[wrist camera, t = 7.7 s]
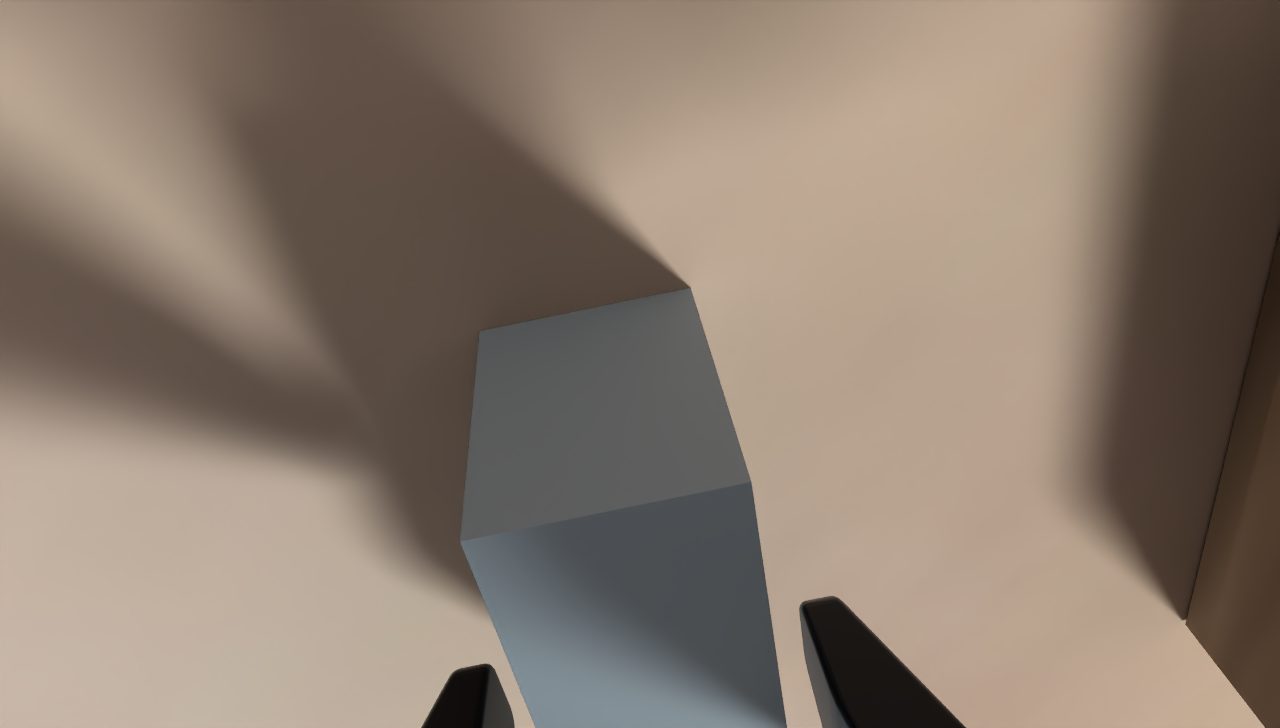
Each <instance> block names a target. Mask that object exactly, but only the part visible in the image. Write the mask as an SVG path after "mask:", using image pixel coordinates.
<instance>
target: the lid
mask: <svg viewBox="0 0 1280 728" xmlns="http://www.w3.org/2000/svg"><path fill="white" fill-rule="evenodd" d="M460 543H461V546H462V548H463V551H464V553H465V556H466V558H467V561H468V563H469V565H470V568H471V570H472V573H473V575H474V578H475V580H476V583H477V585H478V588H479V590H480V592H481V595H482V597H483V600H484V602H485V605H486V607H487V610H488V612H489V615H490V617H491V619H492V622H493V624H494V627H495V629H496V632H497V634H498V637H499V639H500V642H501V644H502V646H503V649H504V651H505V654H506V656H507V659H508V661H509V664H510V666H511V669H512V671H513V674H514V676H515V678H516V681H517V683H518V686H519V688H520V691H521V693H522V696H523V698H524V701H525V703H526V705H527V708H528V710H529V713H530V715H531V718H532V720H533V723H534V725H535V728H787V725H786V718H785V711H784V705H783V698H782V691H781V684H780V677H779V670H778V663H777V656H776V649H775V642H774V635H773V629H772V622H771V615H770V608H769V601H768V594H767V587H766V580H765V573H764V566H763V560H762V553H761V546H760V539H759V532H758V525H757V518H756V511H755V504H754V497H753V490H752V484H751V480H750V476H749V473H748V470H747V467H746V464H745V460H744V457H743V454H742V451H741V448H740V444H739V441H738V438H737V435H736V432H735V428H734V425H733V422H732V419H731V416H730V412H729V409H728V406H727V403H726V400H725V396H724V393H723V390H722V387H721V384H720V380H719V377H718V374H717V371H716V368H715V364H714V361H713V358H712V355H711V352H710V348H709V345H708V342H707V339H706V336H705V333H704V329H703V326H702V323H701V320H700V317H699V313H698V310H697V307H696V304H695V301H694V297H693V294H692V291H691V288H687V289H682V290H677V291H672V292H667V293H662V294H657V295H653V296H648V297H643V298H638V299H633V300H628V301H623V302H619V303H614V304H609V305H604V306H599V307H594V308H589V309H584V310H580V311H575V312H570V313H565V314H560V315H555V316H550V317H546V318H541V319H536V320H531V321H526V322H521V323H516V324H511V325H507V326H502V327H497V328H492V329H487V330H482V331H480V332H479V343H478V353H477V364H476V375H475V385H474V396H473V407H472V417H471V428H470V439H469V449H468V460H467V471H466V481H465V492H464V503H463V513H462V524H461V534H460Z"/></svg>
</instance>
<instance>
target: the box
mask: <svg viewBox="0 0 1280 728" xmlns="http://www.w3.org/2000/svg"><path fill="white" fill-rule="evenodd" d="M1186 626H1187V627H1188V628H1189V630H1190V631H1191V632H1192V633H1193V635H1194V636H1195V637H1196V639H1197V640H1198V641H1199V643H1200V644H1201V645H1202V646H1203V648H1204V649H1205V650H1206V652H1207V653H1208V654H1209V655H1210V657H1211V658H1212V659H1213V661H1214V662H1215V663H1216V665H1217V666H1218V667H1219V668H1220V670H1221V671H1222V672H1223V674H1224V675H1225V676H1226V677H1227V679H1228V680H1229V681H1230V683H1231V684H1232V685H1233V686H1234V688H1235V689H1236V690H1237V692H1238V693H1239V694H1240V696H1241V697H1242V698H1243V699H1244V701H1245V702H1246V703H1247V705H1248V706H1249V707H1250V708H1251V710H1252V711H1253V712H1254V714H1255V715H1256V716H1257V718H1258V719H1259V720H1260V721H1261V723H1262V724H1263V725H1264V727H1265V728H1280V234H1279V238H1278V242H1277V246H1276V250H1275V254H1274V258H1273V263H1272V267H1271V271H1270V275H1269V279H1268V283H1267V288H1266V292H1265V296H1264V300H1263V304H1262V308H1261V312H1260V317H1259V321H1258V325H1257V329H1256V333H1255V337H1254V342H1253V346H1252V350H1251V354H1250V358H1249V362H1248V367H1247V371H1246V375H1245V379H1244V383H1243V387H1242V391H1241V396H1240V400H1239V404H1238V408H1237V412H1236V416H1235V421H1234V425H1233V429H1232V433H1231V437H1230V441H1229V445H1228V450H1227V454H1226V458H1225V462H1224V466H1223V470H1222V475H1221V479H1220V483H1219V487H1218V491H1217V495H1216V499H1215V504H1214V508H1213V512H1212V516H1211V520H1210V524H1209V529H1208V533H1207V537H1206V541H1205V545H1204V549H1203V553H1202V558H1201V562H1200V566H1199V570H1198V574H1197V578H1196V583H1195V587H1194V591H1193V595H1192V599H1191V603H1190V608H1189V612H1188V616H1187V620H1186Z"/></svg>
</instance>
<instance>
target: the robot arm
mask: <svg viewBox="0 0 1280 728" xmlns="http://www.w3.org/2000/svg"><path fill="white" fill-rule="evenodd" d="M799 611H800V621H801V630H802V638H803V647H804V655H805V660H806V665H807V669H808V673H809V677H810V681H811V685H812V689H813V693H814V696H815V700H816V704H817V708H818V712H819V715H820V719H821V723H822V727H823V728H966V727H965V726H964V725H963V724H962V723H961V722H960V721H959V720H958V719H957V718H956V717H955V716H954V715H953V714H952V713H951V712H950V711H949V710H948V709H947V708H946V707H945V706H944V705H943V704H942V703H941V702H940V701H939V700H938V699H937V698H936V696H935V695H934V694H933V693H932V692H931V691H930V690H929V689H928V688H927V687H926V686H925V685H924V684H923V683H922V682H921V681H920V680H919V679H918V678H917V677H916V676H915V675H914V674H913V673H912V672H911V671H910V670H909V669H908V668H907V667H906V666H905V665H904V664H903V663H902V662H901V661H900V660H899V659H898V658H897V657H896V656H895V655H894V654H893V652H892V651H891V650H890V649H889V648H888V647H887V646H886V645H885V644H884V643H883V642H882V641H881V640H880V639H879V638H878V637H877V636H876V635H875V634H874V633H873V632H872V631H871V630H870V629H869V628H868V627H867V626H866V625H865V624H864V623H863V622H862V621H861V620H860V619H859V618H858V617H857V616H856V615H855V614H854V613H853V612H852V611H851V610H850V608H849V607H848V606H847V605H846V604H845V603H844V602H843V601H841V600H840V599H839V598H837V597H835V596H828V597H823V598H818V599H813V600H808V601H804V602H802V604H801V605H800V608H799ZM421 728H515V726H514V719H513V714H512V711H511V708H510V705H509V702H508V700H507V698H506V695H505V693H504V690H503V688H502V686H501V683H500V681H499V678H498V676H497V674H496V671H495V669H494V668H493V667H492V666H491V665H490V664H480V665H475V666H470V667H465V668H460V669H458V670H456V671H454V672H453V673H452V674H451V675H450V677H449V679H448V680H447V682H446V684H445V686H444V688H443V689H442V691H441V693H440V695H439V697H438V699H437V700H436V702H435V704H434V706H433V708H432V709H431V711H430V713H429V715H428V717H427V718H426V720H425V722H424V724H423V726H422V727H421Z"/></svg>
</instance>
